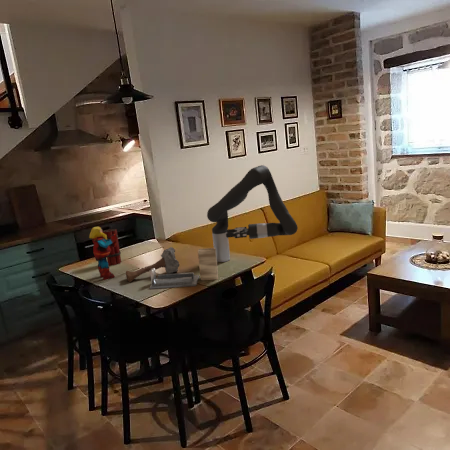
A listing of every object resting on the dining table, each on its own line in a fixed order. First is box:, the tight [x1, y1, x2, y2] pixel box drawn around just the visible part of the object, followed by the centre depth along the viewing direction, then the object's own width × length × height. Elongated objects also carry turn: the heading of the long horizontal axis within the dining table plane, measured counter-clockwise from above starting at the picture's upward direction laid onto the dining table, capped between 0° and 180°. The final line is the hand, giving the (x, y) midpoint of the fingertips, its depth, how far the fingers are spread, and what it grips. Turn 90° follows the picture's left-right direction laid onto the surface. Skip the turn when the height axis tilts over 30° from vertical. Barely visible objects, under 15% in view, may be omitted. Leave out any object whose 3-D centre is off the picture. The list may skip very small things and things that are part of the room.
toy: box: [88, 226, 117, 281], centre depth 230 cm, size 15×15×30 cm
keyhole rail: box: [149, 268, 200, 290], centre depth 213 cm, size 14×24×8 cm, turn 87°
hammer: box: [125, 246, 180, 283], centre depth 227 cm, size 15×10×30 cm
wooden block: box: [197, 247, 219, 281], centre depth 214 cm, size 4×9×16 cm, turn 87°
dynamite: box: [102, 218, 122, 266], centre depth 257 cm, size 10×9×30 cm
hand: (226, 233), depth 210 cm, fingers open, 8 cm apart
